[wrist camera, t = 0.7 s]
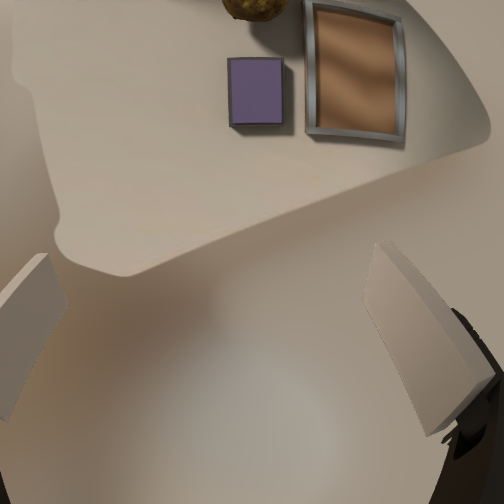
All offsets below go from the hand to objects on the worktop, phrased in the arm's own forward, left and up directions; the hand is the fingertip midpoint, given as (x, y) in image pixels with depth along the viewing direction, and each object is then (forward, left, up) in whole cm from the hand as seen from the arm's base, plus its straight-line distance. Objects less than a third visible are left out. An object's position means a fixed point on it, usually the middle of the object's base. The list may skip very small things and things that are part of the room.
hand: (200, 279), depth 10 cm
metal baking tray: (-12, +16, -24) cm, 31 cm away
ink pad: (-8, +4, -24) cm, 26 cm away
